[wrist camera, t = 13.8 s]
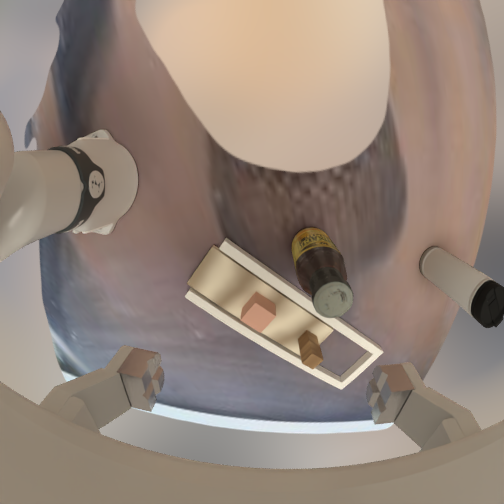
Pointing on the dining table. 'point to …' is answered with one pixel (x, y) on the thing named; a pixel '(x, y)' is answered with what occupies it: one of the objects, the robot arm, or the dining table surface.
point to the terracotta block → (258, 312)
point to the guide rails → (300, 299)
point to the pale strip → (247, 283)
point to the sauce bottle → (322, 272)
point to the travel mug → (464, 285)
